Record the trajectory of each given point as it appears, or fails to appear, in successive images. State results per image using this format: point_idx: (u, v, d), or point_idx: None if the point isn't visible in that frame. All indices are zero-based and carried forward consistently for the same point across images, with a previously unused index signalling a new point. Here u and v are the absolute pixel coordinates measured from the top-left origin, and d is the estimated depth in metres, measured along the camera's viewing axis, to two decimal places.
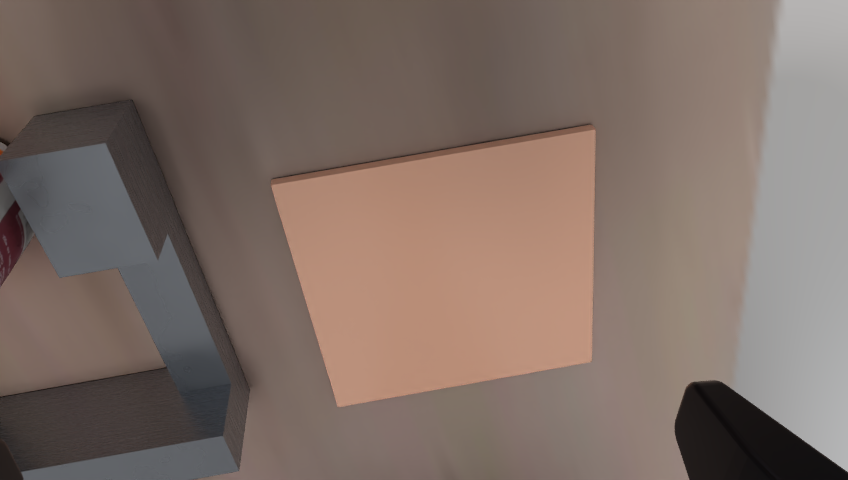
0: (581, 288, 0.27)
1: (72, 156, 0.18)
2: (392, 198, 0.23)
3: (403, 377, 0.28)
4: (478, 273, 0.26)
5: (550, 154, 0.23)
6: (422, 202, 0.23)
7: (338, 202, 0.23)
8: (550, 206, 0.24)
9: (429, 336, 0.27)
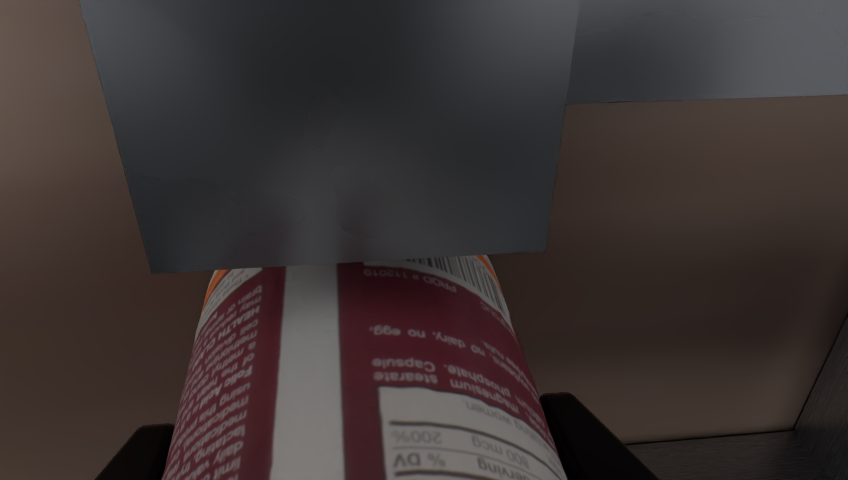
0: None
1: (128, 77, 0.06)
2: None
3: None
4: None
5: None
6: None
7: None
8: None
9: None
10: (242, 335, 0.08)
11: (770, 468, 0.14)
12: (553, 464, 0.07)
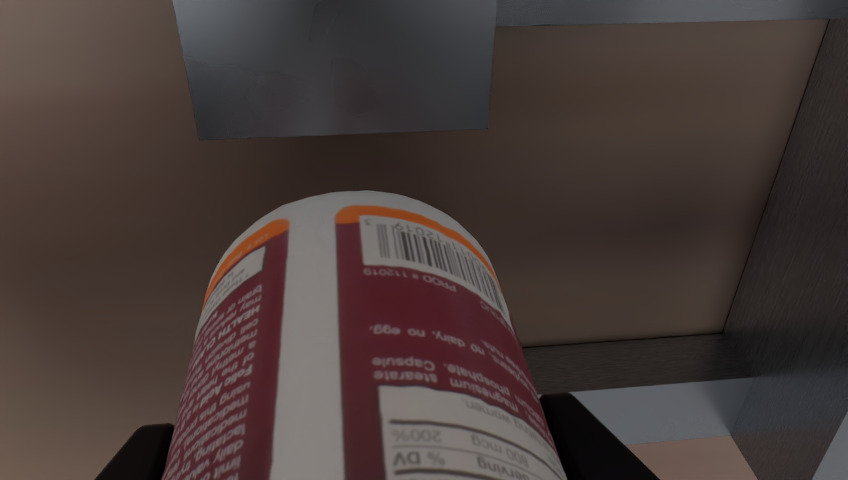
0: None
1: None
2: None
3: None
4: None
5: None
6: None
7: None
8: None
9: None
10: (242, 333, 0.08)
11: (700, 360, 0.16)
12: (553, 463, 0.07)
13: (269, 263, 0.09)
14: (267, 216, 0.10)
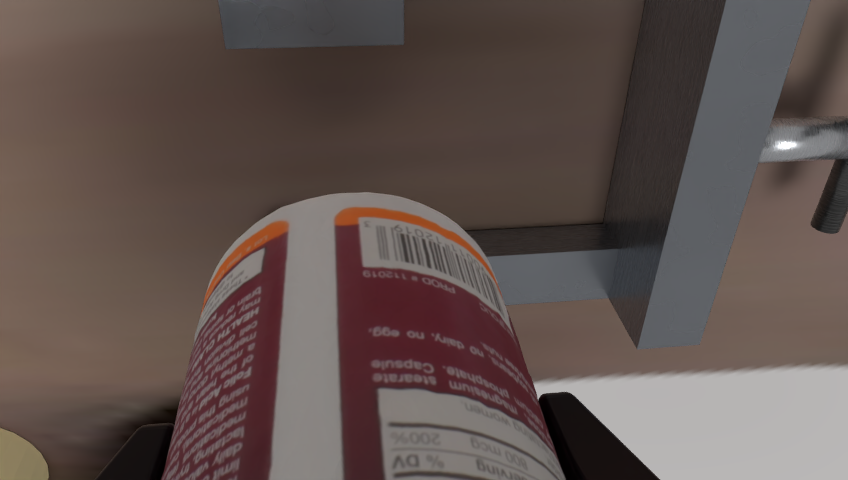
0: None
1: None
2: None
3: None
4: None
5: None
6: None
7: None
8: None
9: None
10: (240, 336, 0.08)
11: (582, 239, 0.22)
12: (552, 465, 0.07)
13: (268, 264, 0.09)
14: (266, 218, 0.10)
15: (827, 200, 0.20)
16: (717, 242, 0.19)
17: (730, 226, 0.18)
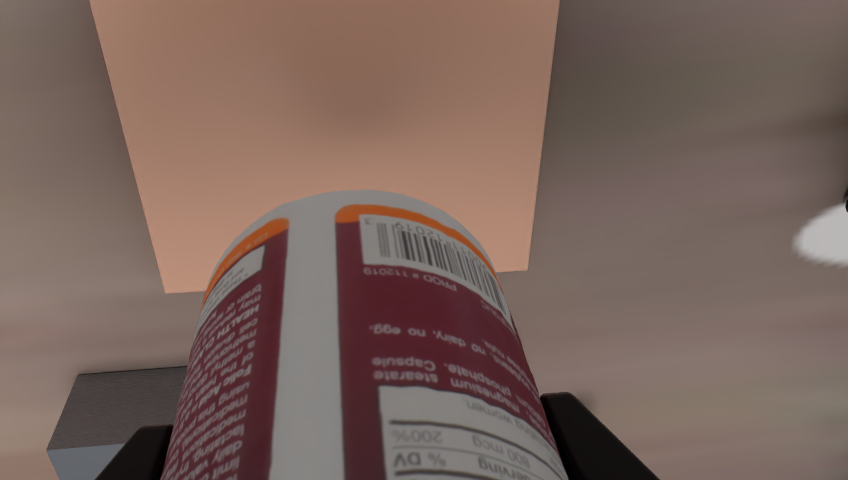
0: None
1: (64, 471, 0.20)
2: (186, 175, 0.18)
3: (500, 189, 0.19)
4: (325, 74, 0.17)
5: None
6: (193, 141, 0.18)
7: (190, 233, 0.19)
8: None
9: (432, 149, 0.18)
10: (240, 334, 0.08)
11: None
12: (554, 464, 0.07)
13: (268, 263, 0.08)
14: (266, 215, 0.10)
15: None
16: None
17: None
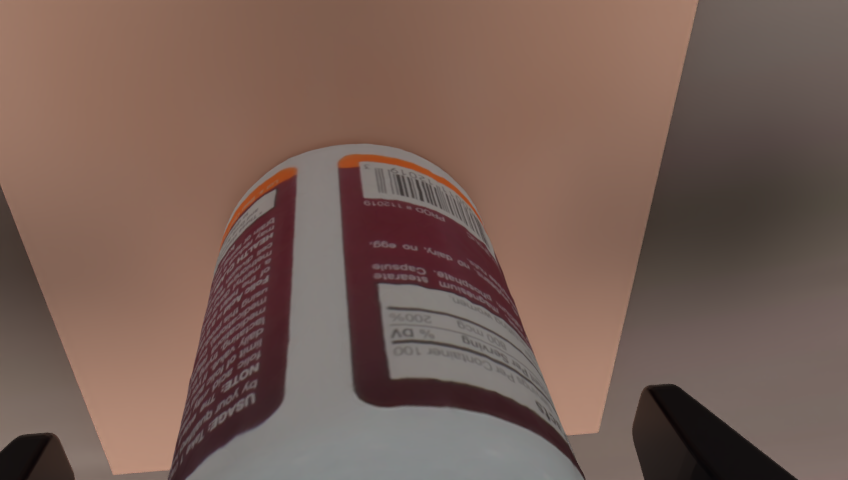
0: None
1: None
2: (134, 338, 0.13)
3: (570, 342, 0.14)
4: None
5: None
6: (142, 296, 0.12)
7: (144, 406, 0.14)
8: (150, 48, 0.10)
9: None
10: (258, 255, 0.09)
11: None
12: (529, 355, 0.08)
13: (279, 201, 0.10)
14: (277, 167, 0.11)
15: None
16: None
17: None
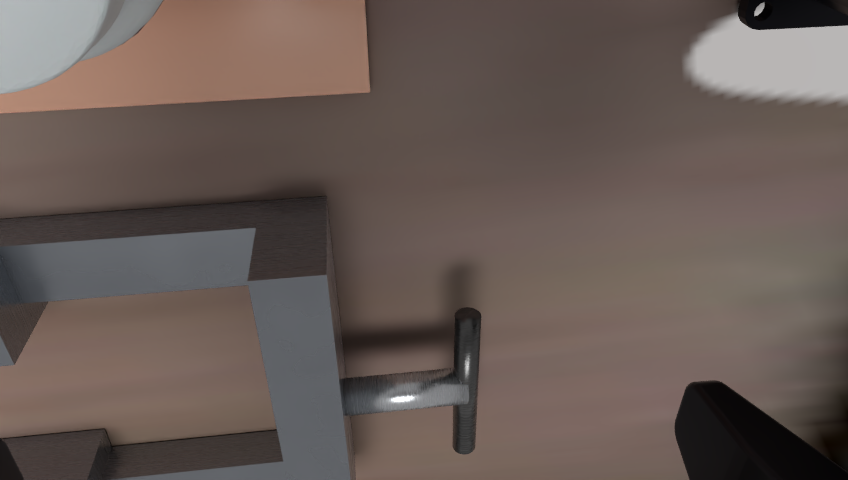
0: None
1: None
2: None
3: None
4: None
5: None
6: None
7: None
8: None
9: None
10: None
11: (271, 448, 0.25)
12: None
13: None
14: None
15: (454, 430, 0.23)
16: None
17: (342, 471, 0.22)
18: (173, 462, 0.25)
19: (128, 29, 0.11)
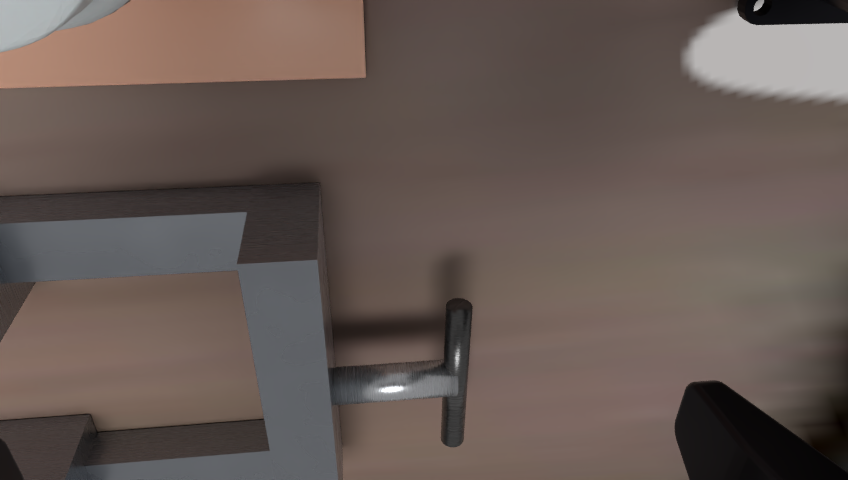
0: None
1: None
2: None
3: None
4: None
5: None
6: None
7: None
8: None
9: None
10: None
11: (258, 437, 0.25)
12: None
13: None
14: None
15: (442, 422, 0.23)
16: (323, 471, 0.22)
17: (329, 460, 0.22)
18: (158, 449, 0.25)
19: None
